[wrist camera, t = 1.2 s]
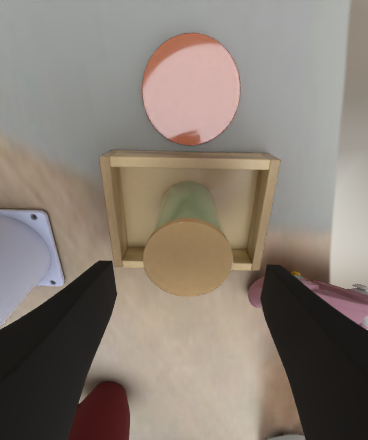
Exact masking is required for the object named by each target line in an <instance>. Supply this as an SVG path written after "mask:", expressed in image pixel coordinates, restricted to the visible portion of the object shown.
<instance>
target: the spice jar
mask: <svg viewBox="0 0 368 440" xmlns="http://www.w3.org/2000/svg"><path fill="white" fill-rule="evenodd" d="M143 265H144V269H145V271H146V273H147V275H148V277H149V278H150V280H151V281H152V282H153V283H154V284H155V285H156V286H157V287H159V288H160V289H162V290H164V291H166V292H168V293H170V294H174V295H178V296H187V297H188V296H199V295H203V294H206V293H208V292H211V291H213V290H214V289H216V288H217V287H219V286H220V285H221V284H222V283H223V282H224V281H225V280H226V279H227V277H228V275H229V274H230V271H231V269H232V265H233V253H232V249H231V246H230V243H229V241H228V239H227V238H226V236H225V233H224V229H223V226H222V222H221V219H220V216H219V212H218V209H217V205H216V202H215V199H214V197H213V195H212V193H211V192H210V191H209V190H208V189H207V188H206V187H204V186H203V185H201V184H198V183H195V182H181V183H178V184H176V185H174V186H172V187H171V188H169V189H168V190H167V191H166V192H165V194H164V195H163V197H162V200H161V203H160V206H159V210H158V213H157V216H156V219H155V223H154V226H153V229H152V232H151V236H150V237H149V239H148V241H147V243H146V246H145V249H144V253H143Z"/></svg>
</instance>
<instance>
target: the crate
mask: <svg viewBox="0 0 368 440" xmlns="http://www.w3.org/2000/svg"><path fill="white" fill-rule="evenodd" d="M99 160H100V167H101V174H102V181H103V188H104V196H105V203H106V210H107V217H108V224H109V231H110V238H111V246H112V253H113V260H114V267H130V268H144V265H143V253H144V249H145V246H146V243H147V241H148V239H149V237H150V236H151V232H152V229H153V226H154V223H155V219H156V216H157V213H158V210H159V206H160V203H161V200H162V197H163V195H164V194H165V192H166V191H167V190H168V189H169V188H171V187H172V186H174V185H176V184H178V183H181V182H195V183H198V184H201V185H203V186H204V187H206V188H207V189H208V190H209V191H210V192H211V193H212V195H213V197H214V199H215V202H216V205H217V209H218V212H219V216H220V219H221V222H222V226H223V229H224V233H225V236H226V238H227V239H228V241H229V243H230V246H231V249H232V253H233V265H232V269H231V270H255V271H259V270H260V266H261V261H262V255H263V250H264V245H265V240H266V235H267V229H268V224H269V219H270V214H271V209H272V204H273V198H274V193H275V188H276V183H277V178H278V172H279V167H280V162H281V160H280V159H278V158H276V157H274V156H272V155H271V154H269V153H231V152H178V151H125V150H111V151H109V152H107V153H105V154H103V155H101V156H99Z"/></svg>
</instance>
